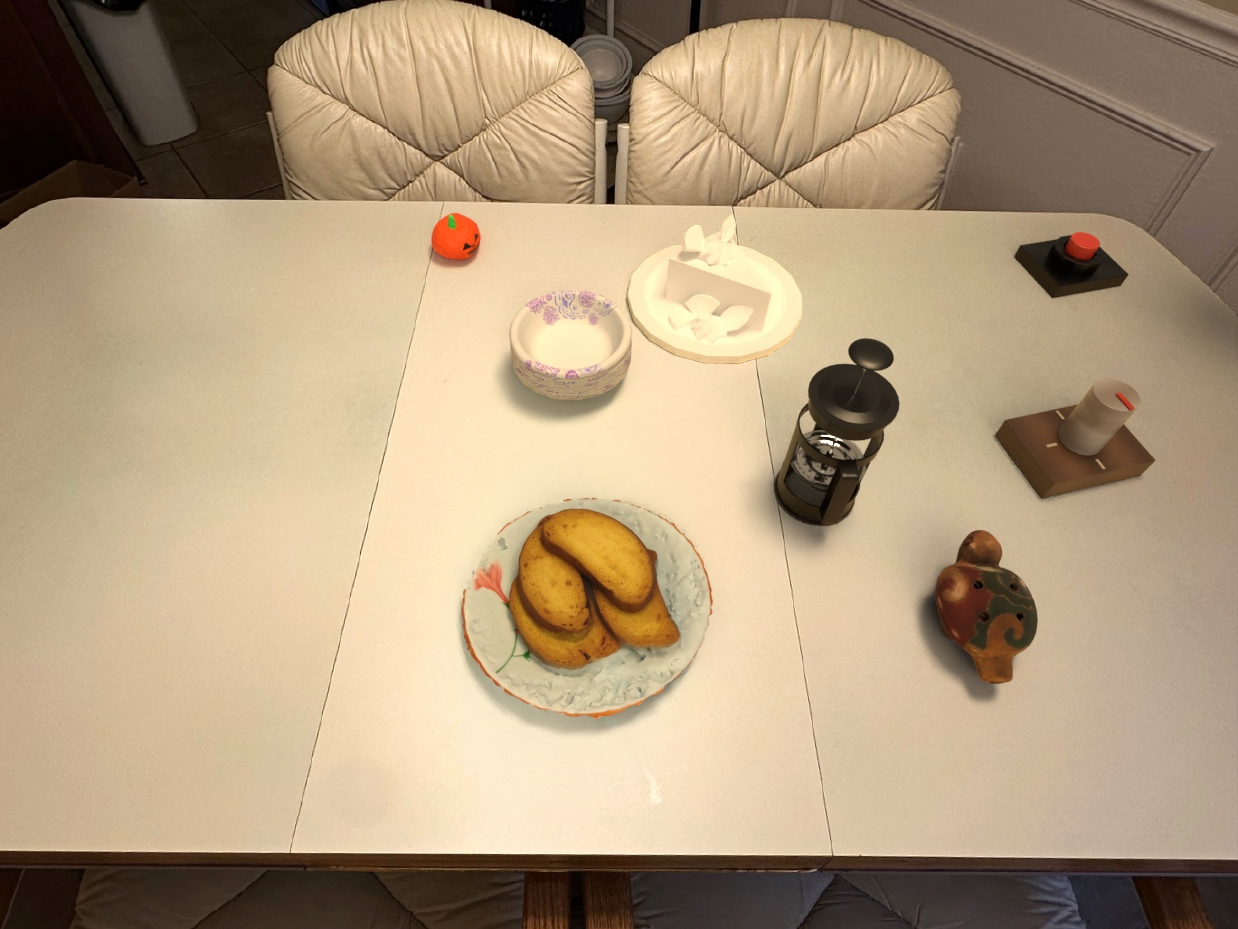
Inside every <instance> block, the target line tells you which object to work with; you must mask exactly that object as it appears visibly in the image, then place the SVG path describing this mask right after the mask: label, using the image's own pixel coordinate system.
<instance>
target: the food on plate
mask: <svg viewBox="0 0 1238 929" xmlns="http://www.w3.org/2000/svg"><path fill="white" fill-rule="evenodd" d="M500 538H501V539H504V546H506V547H507V548H506V549H501V548H500V546H499V543H498V542H499V540H500ZM481 555H482V557H481V559H480V561H479V563H478V565H477V567H476V568H475V570H472V579H471V581H470V582H469V586H468V589H466V588H464V590H463V591H462V596H463V597H462V604H461V605H462V606H461V616H462V619H463V621H462V628H463V638H464V639H465V642H466V644H467V645H466V646H467V648H466V649H467V651H469V653H470V655H471V657H472V659H473V660H474V661H475V662H476V663H477V665H478V666H479V667H480V669H481V671H482V672H483V673H484V675H485V676H487V678H489V679H491V681H492V682H493V684H495V685H496V686H497V687H500V688H502V689H503V692H504V693H505V694H507V695H509V696H511V697H515V698H516V699H518V700H519V701H521V702H523V703H524V704H527V705H530V706H533V707H535V708H536V709H538V710H543V711H544V712H545V713H548V712H549V711H552V712H555V713H558V714H563V715H565V716H566V717H573V718H575V717H576V718H577V717H582V716H587V717H591V718H593V719H595V720H598V719H599V718H600V717H609V716H613V715H616V714H619V713H622V712H623V711H625V710H626V709H628V708H630V707H632V706H637V707H638V706H640V705H641V704H642V703H643V702H645V701H646V699H647V698H650V697H653V696H655V695H658V694H661V693H663V691H664V688H665V687H666V685H667V684H669V683H670V682H672V681H673V680H675V679H676V678H678V677H679V676H680V675H681V673H682V671H683V670H684V669H685V668H686V667H688V666H690V664H691V663H692V662H693V659H694V658H695V657H696V655H697V652H698V650H699V649H700V647H702V643H703V639H704V637H705V633H706V630H707V627H708V626H709V622H710V616H711V615H713V609H712V606H713V605H714V604H713V603H714V600H713V595H712V590H713V589H712V587H711V582H710V579H709V575H708V572H707V570H706V568H705V563H704V561H703V559H702V557H701V555H700V553H699V552H698V551H697V550H696V547H695V545H694V544H693V542H692V541H691V539H689V538H688V537H687V536H686V534H685V533H684V532H683V533H682V531H680V530H679V528H678V527H677V526H676V524H675V523H674V522H671V521H669V520H668V519H667V518H664V517H663V516H661V515H659V514H656V513H654V512H652V511H651V510H649V509H647V508H642V507H641V506H638V505H635V504H632V503H627V502H626V501H621V500H619V499H614V500H613V499H612V500H605V499H601V498H596V497H592V498H591V499H590V498H588V497H585V498H578V499H572V498H566V499H563V500H562V502H559V503H555V504H548V505H545V506H544V507H539V508H537V509H536V510H529V511H527V512H525V513H524V514H523V515H521V516H519V517H517V518H514V520H513V521H510V522H508V523H506V524H505V525H504V526H503V527H502V528H501V529H500V530H499V532H497V535H496V537H495V538H494V539H493V540H492V541H491V542H490V543H489V547H488V548H487V549H485V551H484V552H483V553H482V554H481Z"/></svg>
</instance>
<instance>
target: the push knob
mask: <svg viewBox="0 0 1238 929" xmlns="http://www.w3.org/2000/svg"><path fill="white" fill-rule="evenodd" d="M1071 235H1072V236H1071V238H1070V239H1069V241H1068V242H1067V244H1066V246H1065V251H1066V252H1067V253H1068V254H1070V255H1072V256H1074V257H1076V258H1079V259H1085V260H1087V259H1091V258H1092V257H1093V255H1094V254H1095V252H1096V251H1097V249H1098V247H1099V246H1100V247H1101V242H1100V240H1099V238H1097V237H1096V236H1095V235H1093V234H1090V233H1088V232H1083V231H1078V232H1074V233H1072V234H1071Z"/></svg>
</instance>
